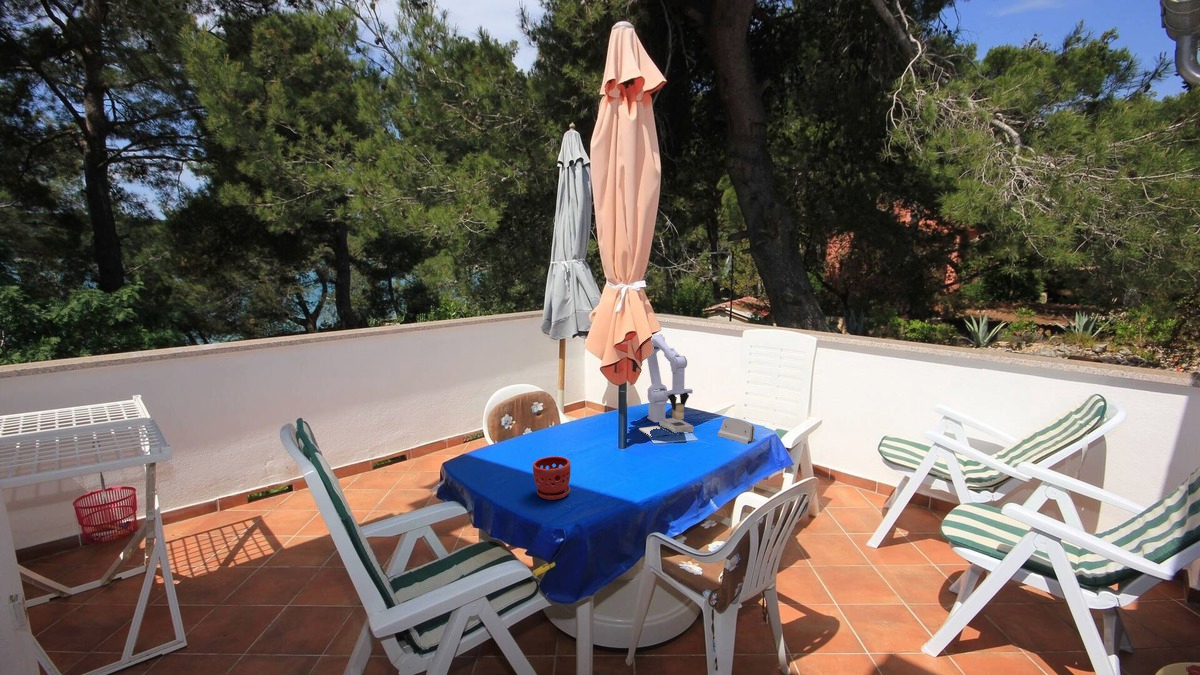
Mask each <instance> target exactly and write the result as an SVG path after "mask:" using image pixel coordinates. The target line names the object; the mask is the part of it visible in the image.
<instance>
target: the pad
mask: <svg viewBox="0 0 1200 675" xmlns="http://www.w3.org/2000/svg"><path fill="white" fill-rule="evenodd" d="M656 428H657V429H660V428H661V426H658V425H655V426H653V425H652V426H647V427H640V428H638V430H639V431H640V432H642V433H644V434H645V433H646V434H645V435H647V434H648V435H649V436H648V435H647V436H648V437H650V436H651V434H650V431H651V430H653V429H656ZM651 437H652V436H651ZM651 437H650V438H651Z"/></svg>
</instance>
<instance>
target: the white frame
mask: <svg viewBox="0 0 1200 675" xmlns="http://www.w3.org/2000/svg"><path fill="white" fill-rule="evenodd" d="M658 423H659V424H658V425H660V426H659V427H661V426H662V427H664V428H667V429H669V430H671V431H672V432H674V433H677V432H692V433H694V425H692V424H691V423H688V422H686V421H684V419H679V420H676V419H674V418H672V417H670V418H666V419H661V420H659V422H658ZM662 427H661V428H662ZM664 428H663V429H664Z"/></svg>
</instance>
